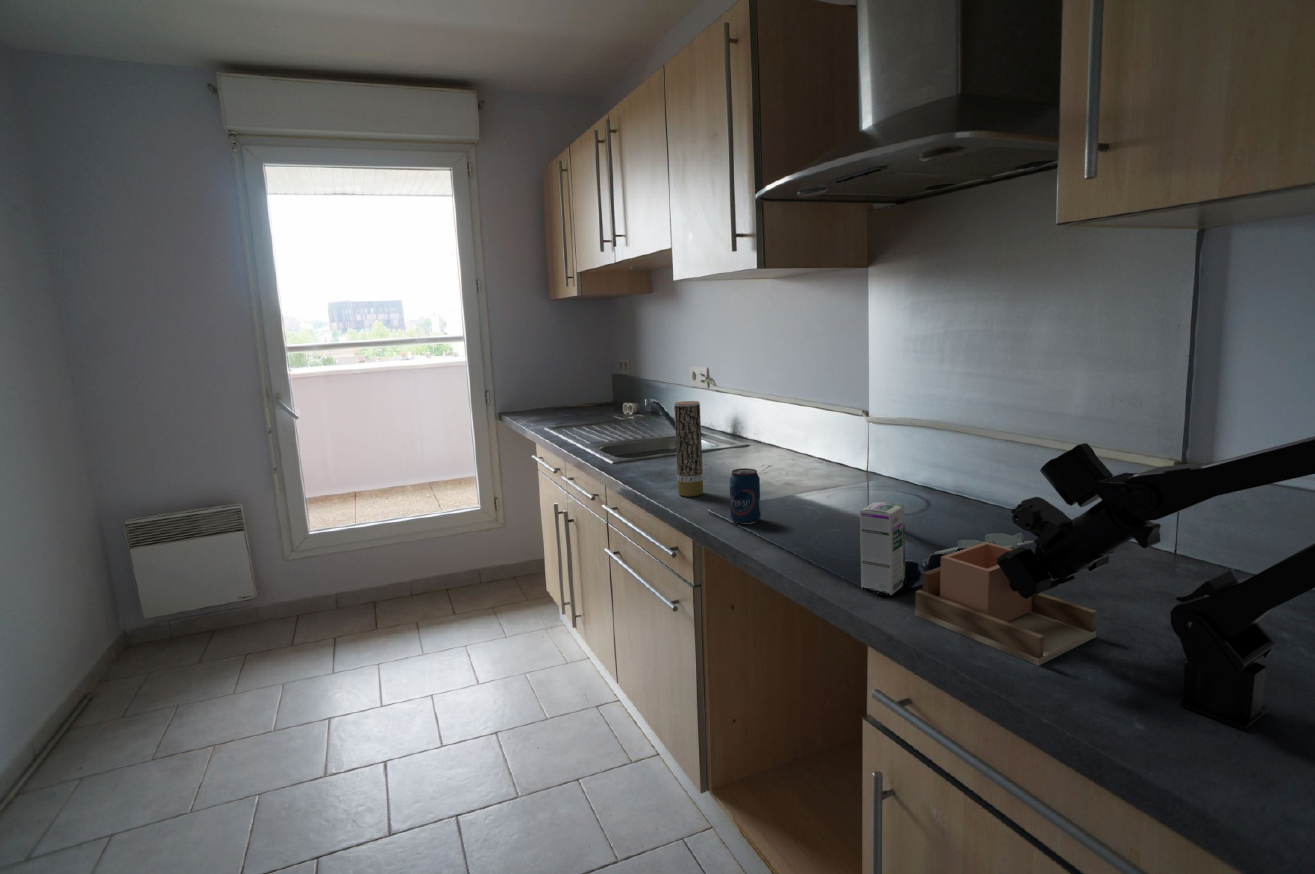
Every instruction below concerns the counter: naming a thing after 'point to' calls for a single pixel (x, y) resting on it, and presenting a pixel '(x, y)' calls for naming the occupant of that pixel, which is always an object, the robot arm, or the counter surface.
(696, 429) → the paper tube
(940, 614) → the wooden bay
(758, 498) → the soda can
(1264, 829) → the counter surface
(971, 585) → the box
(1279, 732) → the counter surface
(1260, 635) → the robot arm
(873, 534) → the syrup box
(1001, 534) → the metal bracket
